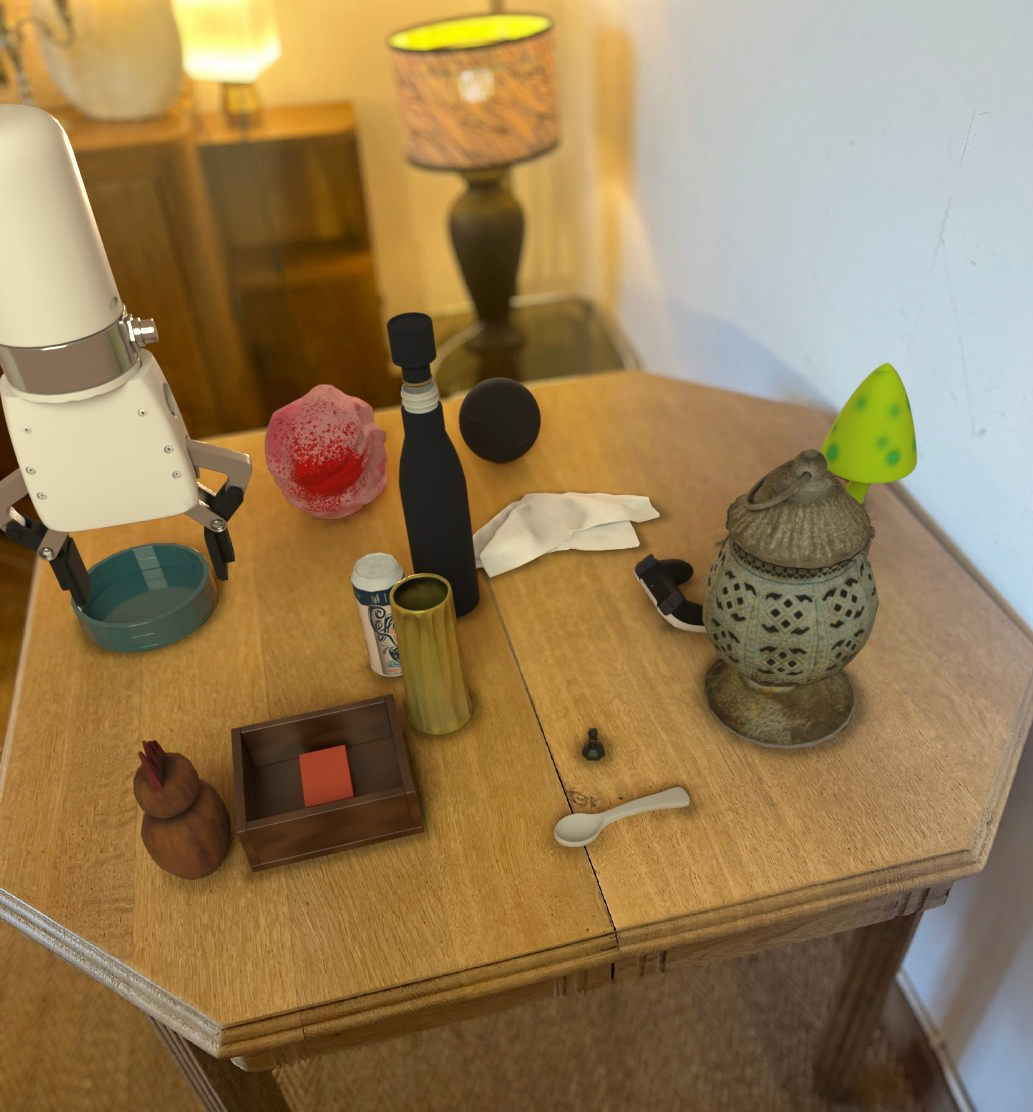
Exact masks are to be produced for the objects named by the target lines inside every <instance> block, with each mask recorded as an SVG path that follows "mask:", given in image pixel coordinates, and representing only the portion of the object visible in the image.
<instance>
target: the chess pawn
mask: <svg viewBox="0 0 1033 1112" xmlns="http://www.w3.org/2000/svg"><path fill="white" fill-rule="evenodd" d="M587 736H588V742H586V743H584V745H583V748H582V750H581V755H582V756H583V757H584V758H585V759H586V761H593V762H594V761H595V762H598V761H600V760H601V759H602V758H603V757H604V756H605V755H606V752H605V748H604V744H603V743H601V742H599V738H598V736H599V732H598V729H597V728H596V727H590V728H588V731H587Z"/></svg>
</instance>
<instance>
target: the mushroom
mask: <svg viewBox="0 0 1033 1112" xmlns="http://www.w3.org/2000/svg"><path fill="white" fill-rule="evenodd" d="M913 417H914V416H913V412H912V407H911V404H910V400H909V396H908V393H907V390H906V387H905V385H904V382H903V380H902V378H901V376H900V374H899V373H898V371H897V369H896V368H895V367H894V366H893V365H892V364H891V363H889V362H885V363H883V364H881V365H879V366H878V367H876V368H875V369H874V370H872V372H870V373H869V374H868V375H867V376H866V378H864V379H863V380H862V382H861V383H860V384H859V385H858V386H857V387H856V389H855V390H854V391H853V392H852V394H851V396H850V397H849V398H848V399H847V401H846V402H845V404H844V405H843V406H842V408H841V410H840V411H839V413H838V415H837V416H836V418H835V420H834V421H833V424H832V426H830V429H829V431H828V433H826V436H825V438H824V440H823V441H822V444H821V447H820V449H819V452H821V453H822V454H823V455H824V457H825V458H826V460H827V469H828V470H829V471H830V472H832V473H834V474H835V475H837V476H839V477H842V478H845V479H848V480H849V483H848V485H847V487H846V490H847V492H848V493H849V494H850V495H851V496H852V497H854V498H855V499H856V500H857V501H858V502H859V503H860V504H861V505H862V506H863V503H864V500H865V499H866V496H867V493H868V491H869V490H870V488H871V485H872V484H887V483H893V482H898V481H899V480H900V481H901V480H902V479H904V478H907V477H908V476H910V475H911V474H912V473H913V472H914V470H916V467H917V464H918V447H917V437H916V431H915V424H914V418H913Z"/></svg>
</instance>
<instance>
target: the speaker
mask: <svg viewBox="0 0 1033 1112" xmlns="http://www.w3.org/2000/svg"><path fill="white" fill-rule="evenodd" d="M541 423H542V415H541V410H540V407H539V404H538V402H537V400H536V398H535V396H534V395H533V393H532V392H531V391H530V390H529V389H528V388H527V387H526V386H525V385H524V384H522V383H521V382H519V381H517V380H515V379H513V378H507V377H491V378H488V379H485V380H483V381H481V382H478V383H477V384H476V385H474V386H473V387H472V388H471V389H470V390H469V391H468V392H467V393H466V395H465V396H464V399H463V400H462V403H461V405H460V408H459V413H458V428H459V432H460V435H461V438H462V440H463V442H464V443H465V445H466V446H467V447H468V449H469V450H470V451H471V453H473V454H474V455H475V456H477V457H479V458H480V459H482V460H484V461H487V462H490V463H497V464H498V463H499V464H503V463H510V462H512V461H515V460H518V459H520V458H521V457H524V455H526V454H527V453H528V452H529V451H530V450H531V449H532V447H534V445H535V443H536V442H537V439H538V437H539V434H540V431H541V426H542V425H541Z"/></svg>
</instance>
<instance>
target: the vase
mask: <svg viewBox="0 0 1033 1112" xmlns="http://www.w3.org/2000/svg"><path fill="white" fill-rule="evenodd" d="M390 606H391V612H392V617H393V622H394V627H395V633H396V639H397V645H398V651H399V658H400V664H401V670H402V675H401V677H402V682H403V686H404V691H405V695H406V699H407V719H408V722H409V723H410V725H411V726H412V727H413V728H414V729H415V730H417V731H419V732H421V733H423V734H426V735H431V736H443V735H447V734H451V733H453V732H456V731H458V730H460V729H462V727H464V726H465V725H466V724H467V723H468V722H469V721H470V719H471V717H472V716H473V711H474V710H473V709H474V703H473V701H472V699H471V696H470V692H469V687H468V681H467V676H466V668H465V667H466V666H465V663H464V657H463V651H462V645H461V641H460V636H459V628H458V621H457V618H456V613H455V607H454V601H453V594H452V589H451V586H450V584H449V582H448V581H447V580H446V579H444V578H443V577H441V576H439V575H436V574H430V573H421V574H415V575H414V574H411V575H409V576H406V577H405V578H404V579H402V580H400V581H399V582H398V583H396V584H395V585H394V586H393V588H392V590H391V592H390Z"/></svg>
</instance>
